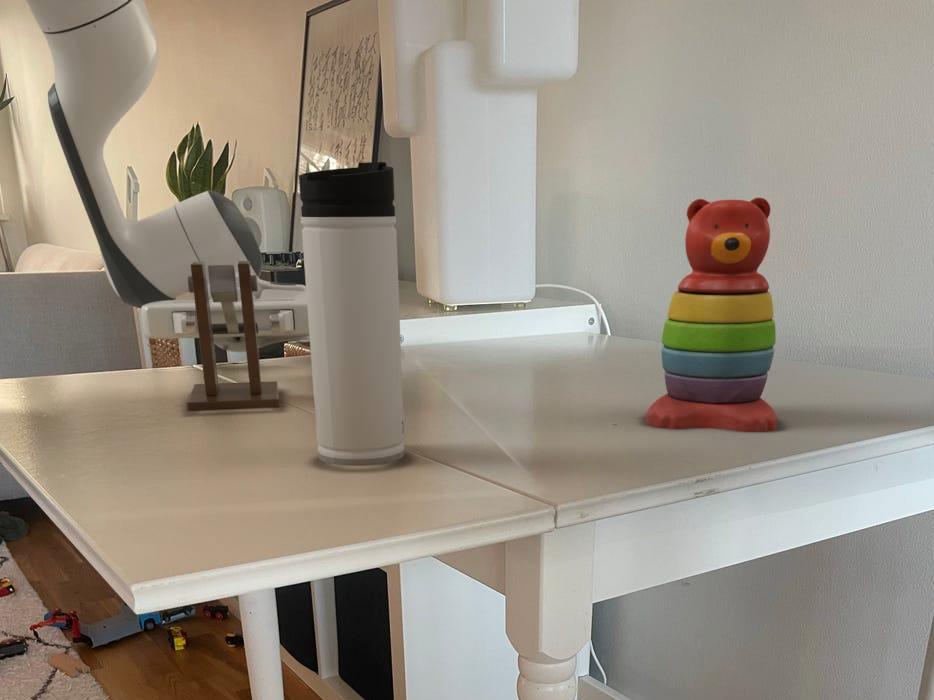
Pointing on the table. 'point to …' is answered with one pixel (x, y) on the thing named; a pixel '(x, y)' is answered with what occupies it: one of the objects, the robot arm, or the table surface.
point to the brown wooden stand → (212, 391)
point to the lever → (225, 298)
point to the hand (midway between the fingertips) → (233, 325)
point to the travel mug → (353, 313)
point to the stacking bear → (720, 324)
